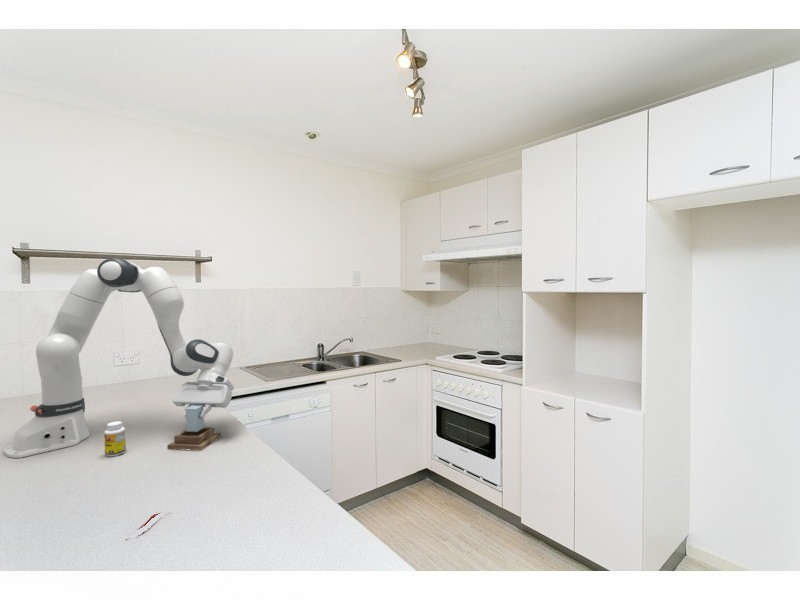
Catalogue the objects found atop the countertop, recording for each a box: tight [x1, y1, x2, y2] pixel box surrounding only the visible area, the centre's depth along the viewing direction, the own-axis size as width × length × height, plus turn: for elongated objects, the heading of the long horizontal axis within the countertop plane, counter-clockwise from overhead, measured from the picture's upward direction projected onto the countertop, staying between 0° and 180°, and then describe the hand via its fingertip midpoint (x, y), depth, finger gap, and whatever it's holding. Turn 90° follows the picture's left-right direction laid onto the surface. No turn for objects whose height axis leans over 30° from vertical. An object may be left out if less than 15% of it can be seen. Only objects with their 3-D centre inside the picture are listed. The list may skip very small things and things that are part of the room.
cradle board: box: [166, 426, 222, 451], centre depth 138 cm, size 12×12×4 cm
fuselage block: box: [185, 405, 205, 432], centre depth 138 cm, size 4×4×8 cm
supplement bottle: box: [103, 420, 127, 457], centre depth 130 cm, size 6×6×10 cm
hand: (193, 417), depth 137 cm, fingers closed on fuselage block, 4 cm apart
